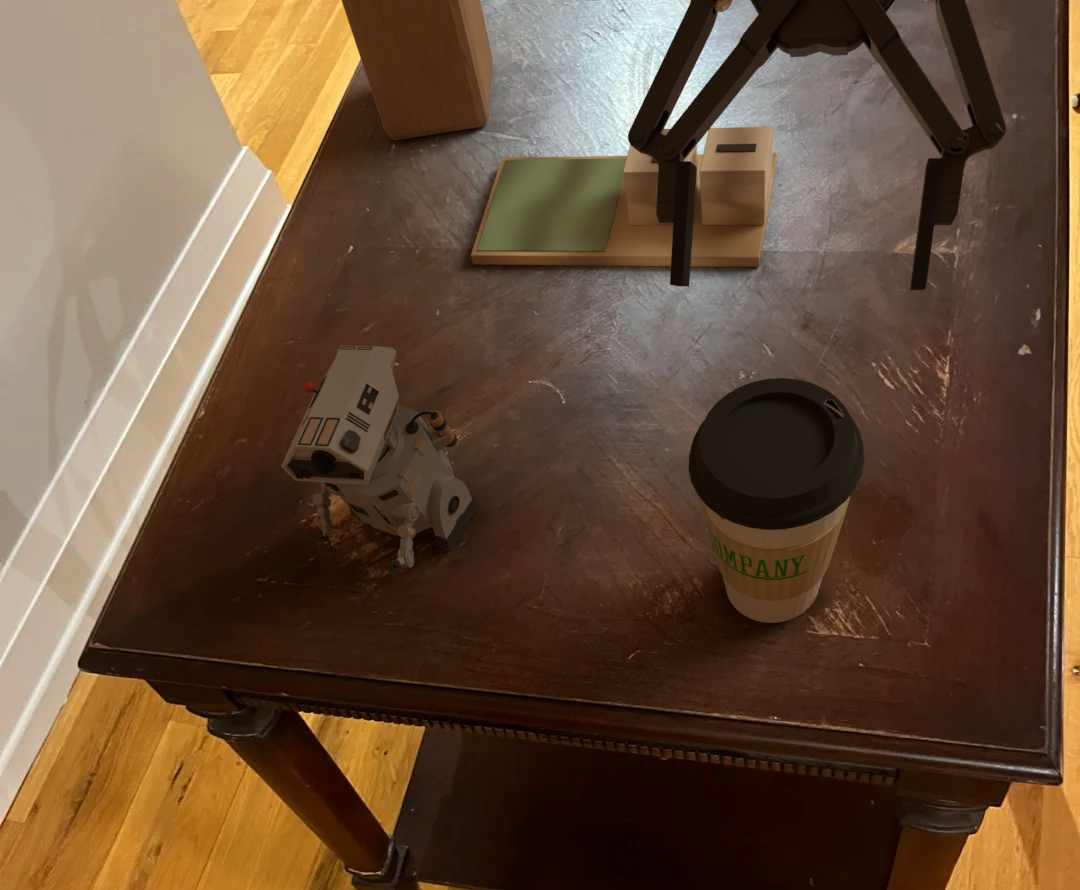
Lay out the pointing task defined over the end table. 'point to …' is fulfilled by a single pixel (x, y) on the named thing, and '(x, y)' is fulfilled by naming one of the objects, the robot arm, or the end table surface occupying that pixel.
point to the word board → (629, 207)
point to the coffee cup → (775, 491)
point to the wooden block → (424, 63)
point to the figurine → (378, 455)
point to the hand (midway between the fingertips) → (795, 288)
